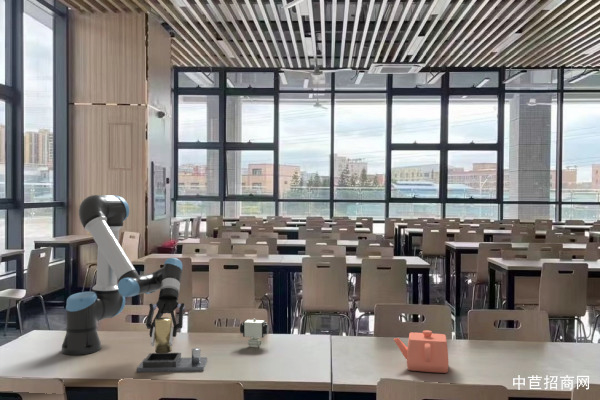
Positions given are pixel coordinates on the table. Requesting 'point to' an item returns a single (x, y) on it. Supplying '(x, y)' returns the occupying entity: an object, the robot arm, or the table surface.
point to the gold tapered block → (162, 335)
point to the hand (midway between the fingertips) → (161, 344)
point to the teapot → (425, 352)
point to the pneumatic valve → (254, 331)
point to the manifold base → (172, 362)
